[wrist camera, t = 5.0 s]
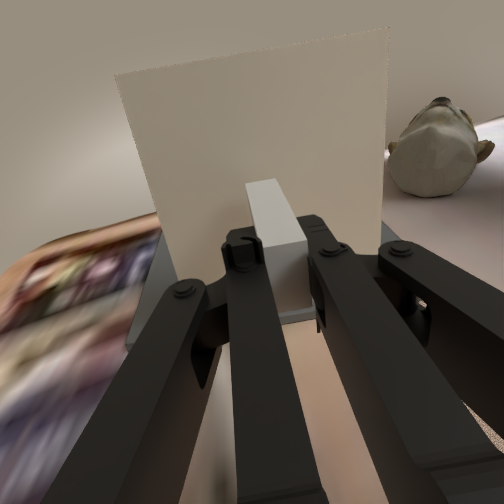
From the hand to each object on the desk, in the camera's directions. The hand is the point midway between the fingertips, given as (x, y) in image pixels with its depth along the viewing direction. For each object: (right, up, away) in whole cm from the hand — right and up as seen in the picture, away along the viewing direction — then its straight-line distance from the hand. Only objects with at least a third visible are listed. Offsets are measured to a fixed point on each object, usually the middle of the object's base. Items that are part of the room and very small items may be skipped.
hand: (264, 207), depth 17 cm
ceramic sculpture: (+19, +5, +20) cm, 29 cm away
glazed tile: (+1, -5, +5) cm, 8 cm away
